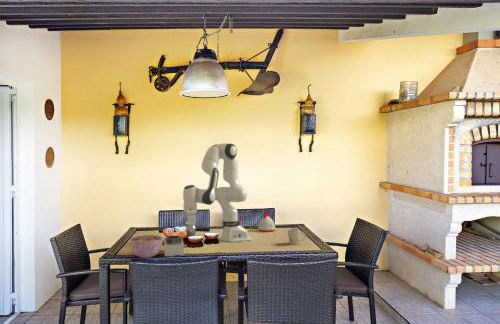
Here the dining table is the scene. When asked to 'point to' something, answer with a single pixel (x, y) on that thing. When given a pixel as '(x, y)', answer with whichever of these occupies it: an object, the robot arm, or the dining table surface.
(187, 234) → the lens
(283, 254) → the dining table surface
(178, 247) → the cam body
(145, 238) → the bowl of food
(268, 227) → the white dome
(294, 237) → the mug
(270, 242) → the dining table surface
